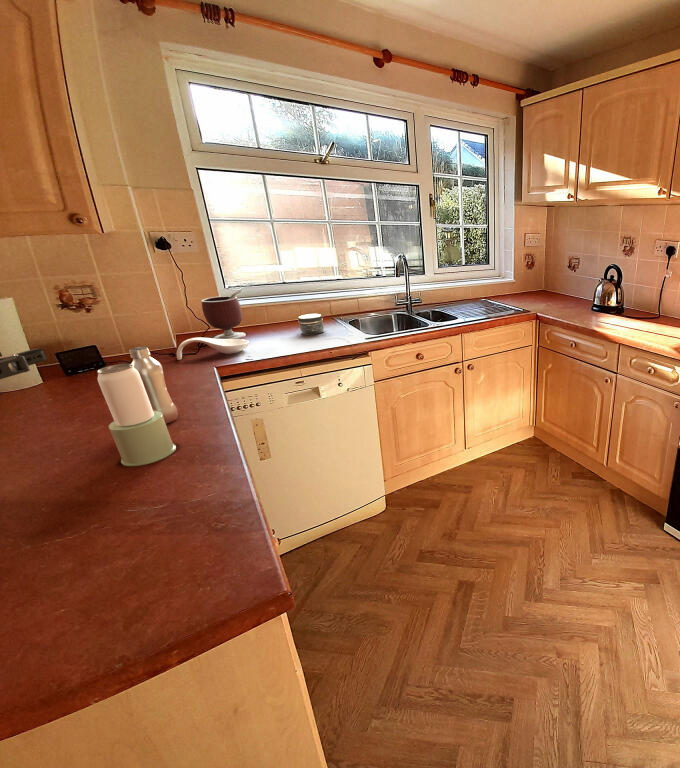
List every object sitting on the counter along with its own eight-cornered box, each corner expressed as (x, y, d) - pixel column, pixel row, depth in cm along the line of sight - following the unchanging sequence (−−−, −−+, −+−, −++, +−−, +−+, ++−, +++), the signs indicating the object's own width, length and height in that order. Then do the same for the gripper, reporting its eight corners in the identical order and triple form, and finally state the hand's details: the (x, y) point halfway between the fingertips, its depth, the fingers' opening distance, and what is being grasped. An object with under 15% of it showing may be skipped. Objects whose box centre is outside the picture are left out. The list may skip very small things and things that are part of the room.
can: (140, 426, 88) (119, 373, 83) (107, 428, 88) (85, 374, 83) (162, 413, 94) (143, 362, 89) (131, 414, 93) (111, 363, 89)
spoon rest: (249, 345, 175) (245, 328, 172) (251, 352, 166) (247, 334, 163) (179, 356, 163) (173, 338, 160) (177, 364, 154) (170, 345, 151)
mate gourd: (208, 343, 179) (194, 295, 171) (215, 335, 191) (202, 290, 183) (249, 338, 184) (237, 292, 177) (253, 331, 196) (243, 288, 189)
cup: (139, 471, 88) (123, 433, 85) (112, 463, 92) (96, 426, 88) (186, 449, 97) (174, 414, 93) (159, 442, 100) (147, 407, 97)
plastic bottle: (147, 430, 106) (118, 354, 98) (151, 420, 111) (123, 347, 103) (179, 424, 109) (153, 350, 101) (181, 414, 114) (156, 343, 107)
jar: (328, 332, 193) (325, 315, 190) (306, 336, 186) (302, 319, 184) (319, 328, 200) (316, 312, 197) (297, 332, 193) (294, 316, 190)
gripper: (-85, 365, 55) (49, 332, 70) (-179, 363, 57) (-27, 331, 72) (-56, 416, 58) (68, 374, 73) (-145, 413, 59) (-6, 372, 74)
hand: (21, 353), depth 72 cm, fingers open, 8 cm apart
